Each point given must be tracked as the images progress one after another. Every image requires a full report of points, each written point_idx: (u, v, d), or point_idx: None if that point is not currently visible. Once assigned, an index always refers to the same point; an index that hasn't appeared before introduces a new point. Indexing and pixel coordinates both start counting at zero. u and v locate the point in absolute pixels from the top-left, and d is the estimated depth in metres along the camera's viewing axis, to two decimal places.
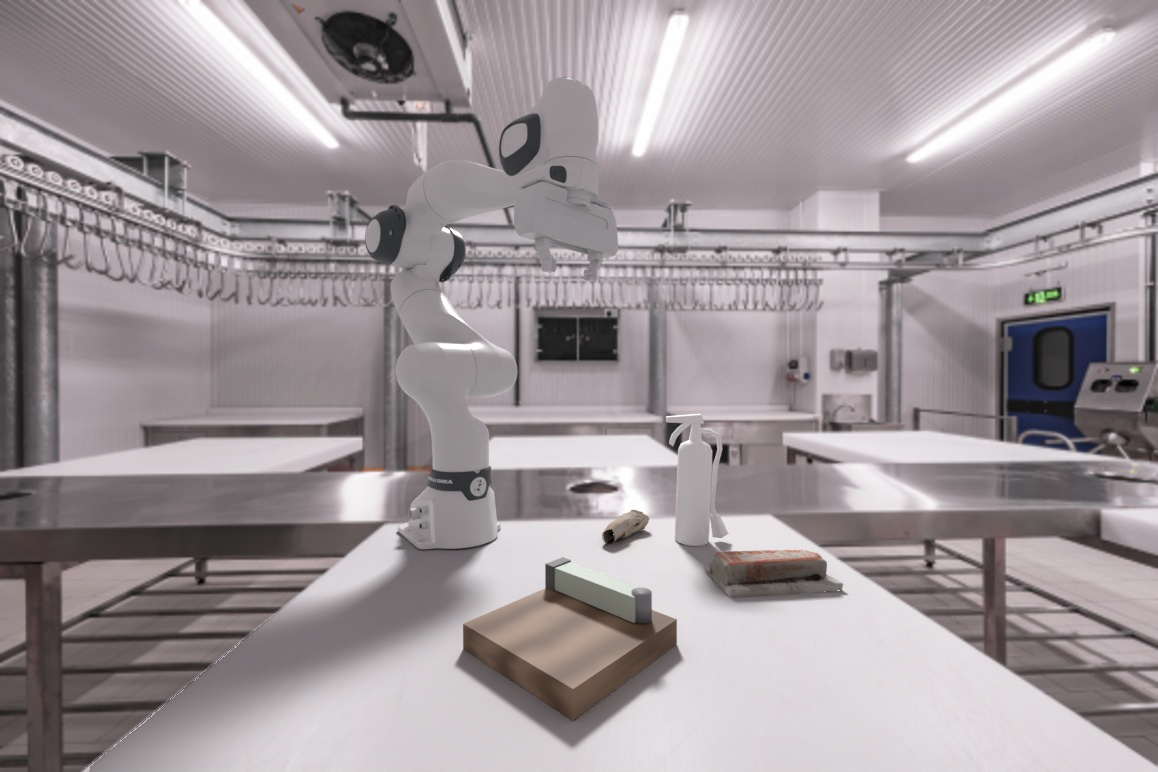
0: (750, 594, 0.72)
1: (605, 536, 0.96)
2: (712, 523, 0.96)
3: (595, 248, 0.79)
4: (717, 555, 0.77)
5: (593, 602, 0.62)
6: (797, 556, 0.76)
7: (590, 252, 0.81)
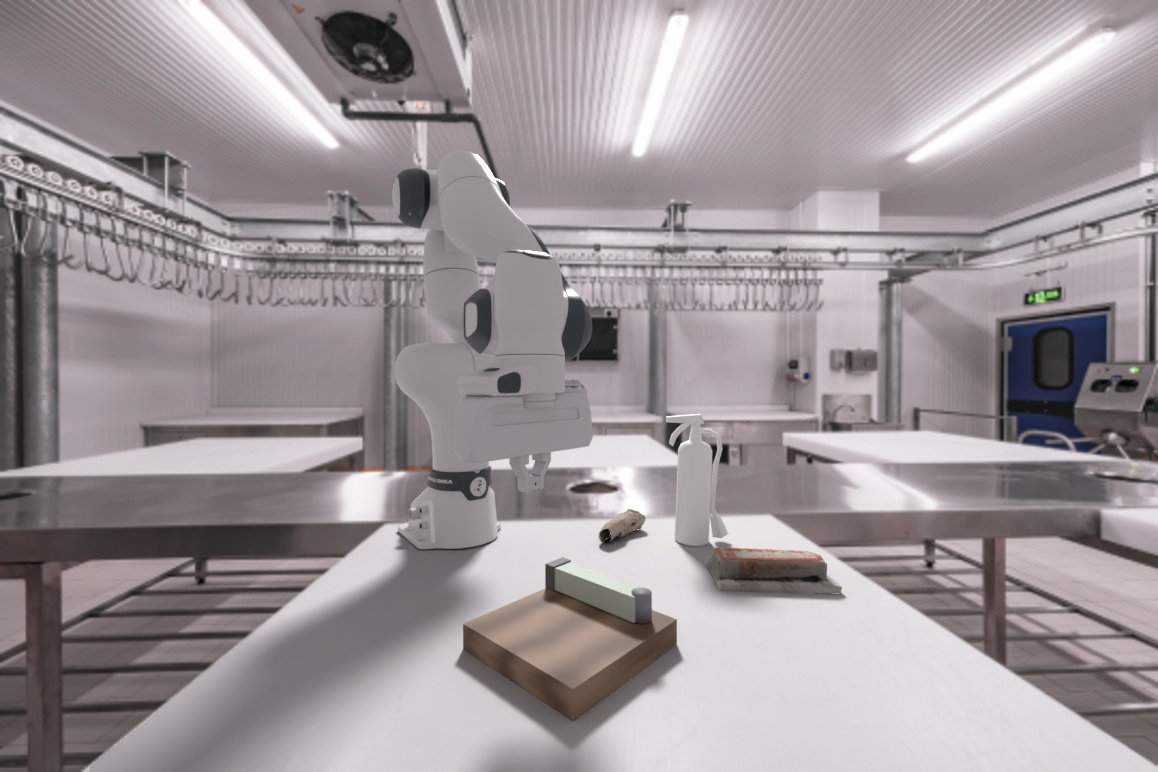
0: (740, 589, 0.74)
1: (602, 536, 0.96)
2: (712, 523, 0.96)
3: (562, 449, 0.63)
4: (715, 550, 0.80)
5: (593, 602, 0.62)
6: (796, 556, 0.76)
7: None
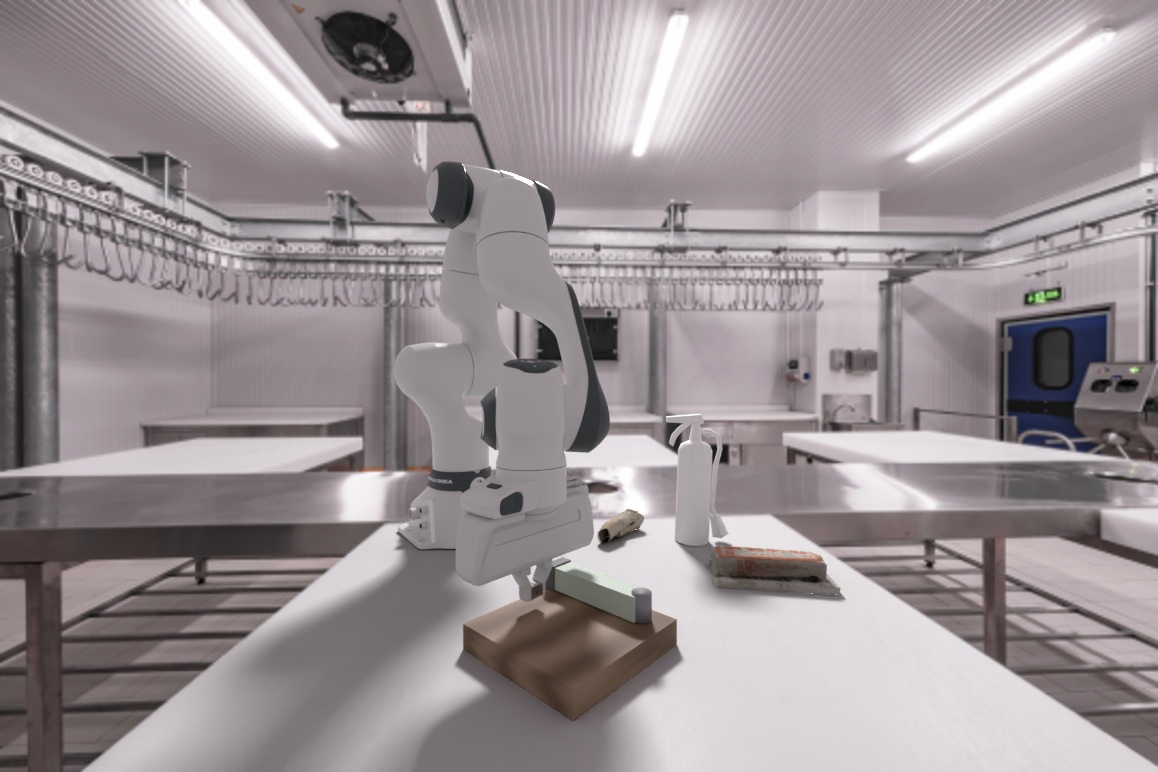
0: (737, 587, 0.74)
1: (600, 535, 0.96)
2: (712, 523, 0.96)
3: (564, 553, 0.63)
4: (715, 548, 0.81)
5: (593, 602, 0.62)
6: (796, 556, 0.76)
7: None
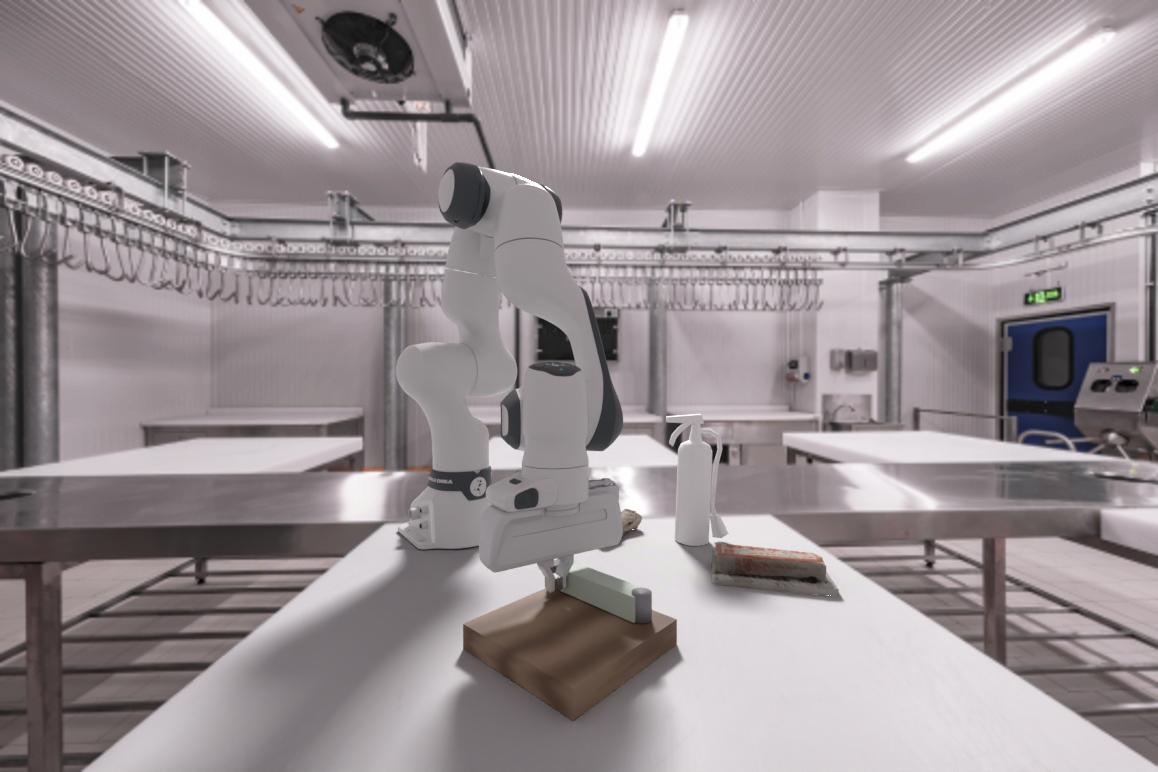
0: (734, 584, 0.75)
1: None
2: (712, 523, 0.96)
3: (587, 550, 0.66)
4: (716, 546, 0.82)
5: (593, 601, 0.62)
6: (795, 556, 0.76)
7: None
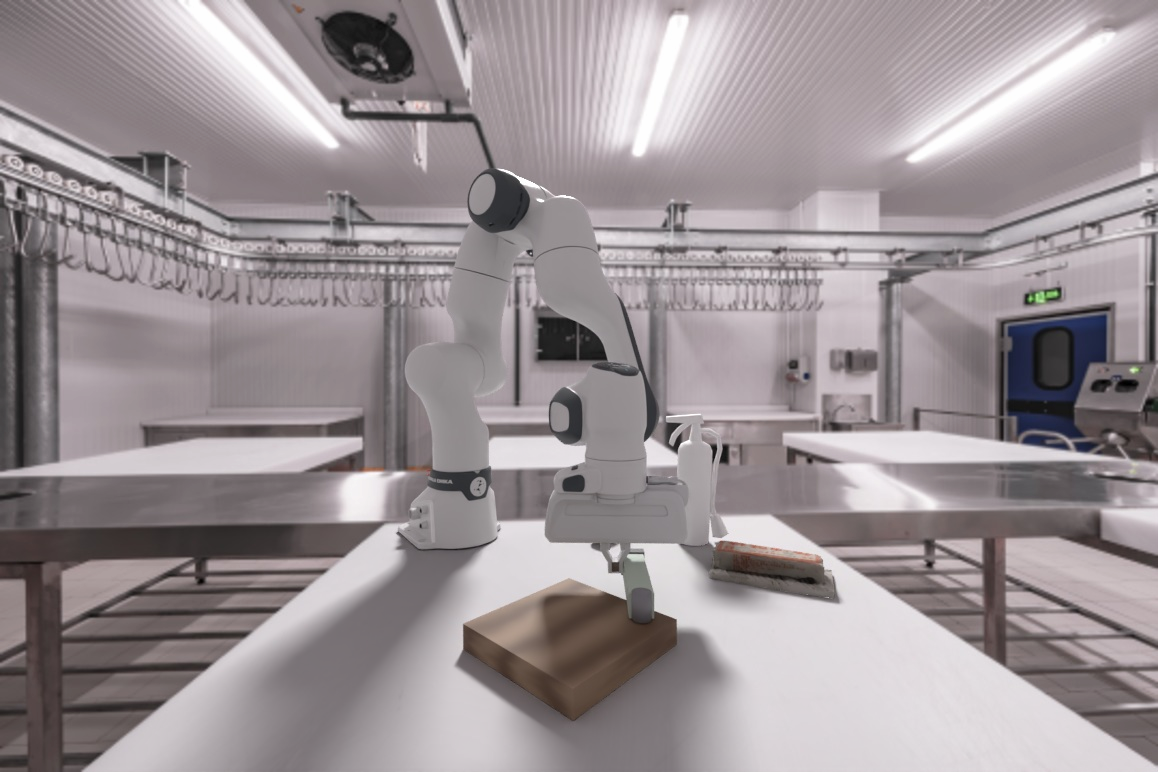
0: (730, 580, 0.77)
1: None
2: (712, 523, 0.96)
3: (644, 542, 0.69)
4: (719, 542, 0.83)
5: (625, 591, 0.65)
6: (795, 557, 0.76)
7: None
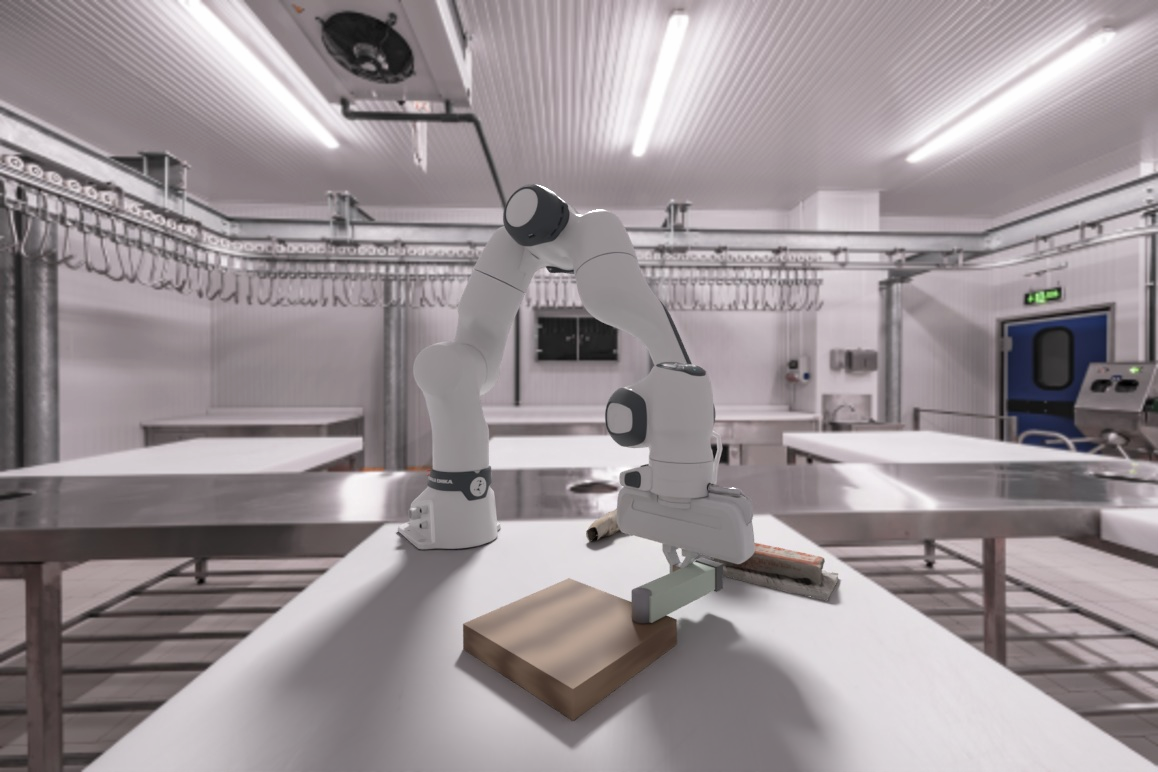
0: (727, 575, 0.79)
1: (589, 534, 0.97)
2: None
3: (700, 553, 0.64)
4: None
5: None
6: (793, 557, 0.76)
7: None
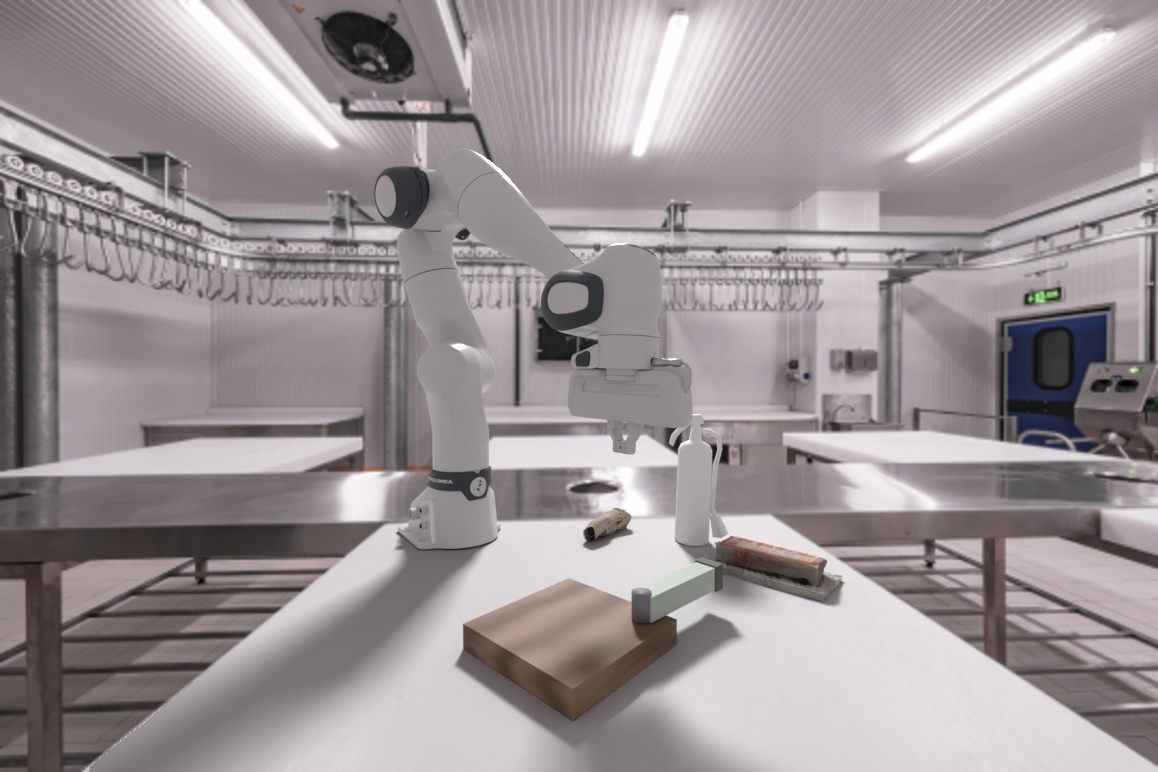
0: (727, 573, 0.80)
1: (586, 534, 0.98)
2: (712, 523, 0.96)
3: (641, 422, 0.67)
4: None
5: None
6: (793, 557, 0.76)
7: None
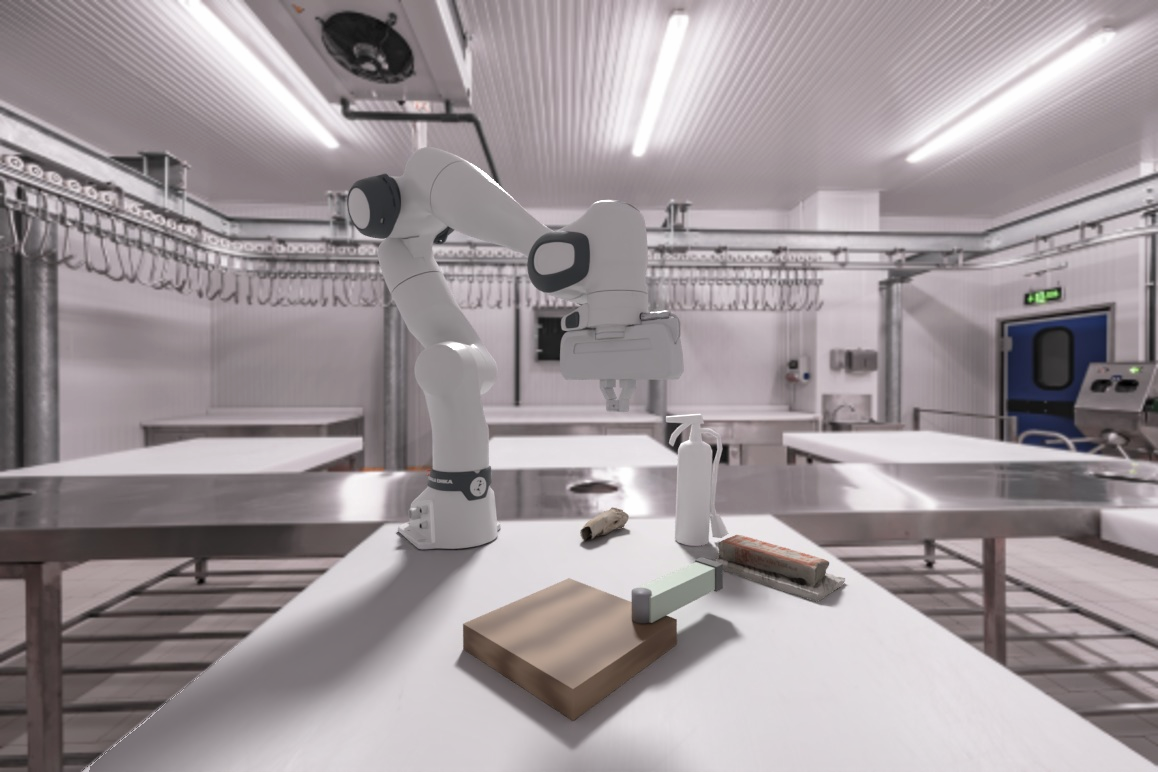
0: (728, 570, 0.81)
1: (584, 533, 0.98)
2: (712, 523, 0.96)
3: (633, 378, 0.67)
4: None
5: None
6: (792, 557, 0.76)
7: None
